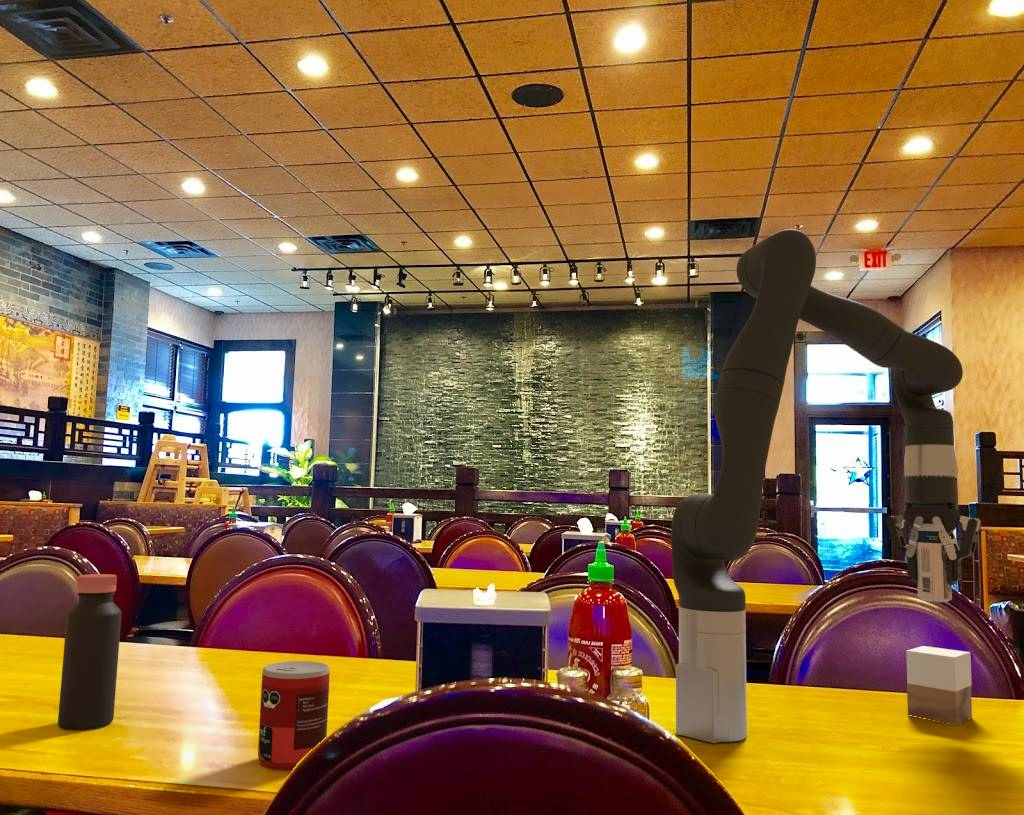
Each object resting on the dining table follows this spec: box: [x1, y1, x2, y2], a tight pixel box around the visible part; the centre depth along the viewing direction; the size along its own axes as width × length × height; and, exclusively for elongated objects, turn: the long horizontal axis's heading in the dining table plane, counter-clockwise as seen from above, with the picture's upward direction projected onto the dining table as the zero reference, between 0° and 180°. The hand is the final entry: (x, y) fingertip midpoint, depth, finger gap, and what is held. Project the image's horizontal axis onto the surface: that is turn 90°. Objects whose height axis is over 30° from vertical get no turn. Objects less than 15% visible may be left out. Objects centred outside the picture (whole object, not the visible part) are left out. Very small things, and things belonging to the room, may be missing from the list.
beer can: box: [916, 524, 953, 603], centre depth 130 cm, size 5×5×12 cm
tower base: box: [906, 683, 973, 726], centre depth 127 cm, size 7×7×5 cm
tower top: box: [905, 645, 973, 692], centre depth 128 cm, size 7×7×5 cm
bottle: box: [57, 573, 122, 731], centre depth 113 cm, size 7×7×20 cm
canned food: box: [257, 660, 330, 771], centre depth 99 cm, size 8×8×11 cm
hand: (934, 582), depth 129 cm, fingers closed on beer can, 4 cm apart
